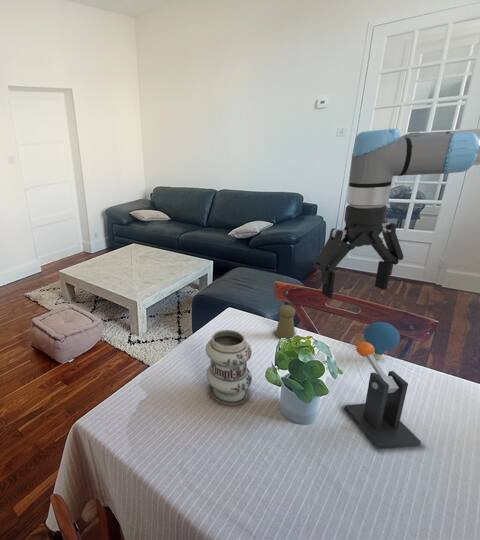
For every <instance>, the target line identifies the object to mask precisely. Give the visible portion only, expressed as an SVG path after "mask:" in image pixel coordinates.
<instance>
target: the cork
mask: <svg viewBox="0 0 480 540" xmlns="http://www.w3.org/2000/svg"><path fill="white" fill-rule="evenodd" d="M278 315H279V318H278V321H277V326H276V331H275V336H276V337H278V338H279V339H281V338H286V339H290V338H292V337H293V336H294V335H295V336H296V331H295V320H294V318H295V315H296V308H294V306H292V305H288V304H282V305H281V306H279V308H278ZM286 339H285V340H286ZM290 340H291V339H290Z"/></svg>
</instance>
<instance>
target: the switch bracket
mask: <svg viewBox="0 0 480 540" xmlns="http://www.w3.org/2000/svg"><path fill="white" fill-rule="evenodd" d="M387 376H392V378H393V379H394V381H395V382H396V384H397V385H398V387H399V388H398V389H397V390H396V391H395V392H394V393H388V389H389V385H388V384H387V383H386V382H385V381H384V380H383V379H382V378H381V377H379V376H378V375H377V373H376V372H370V374H369V380H368V386H367V390H366V391H367V392H366V397H365V403H354V404H353V403H352V404H345V405H344V408H343V409H344V411H345V412H346V413H347V414H348V415H349V417H350V418H351V419H352V420H353V421H354V423H355V424H356V425H357V426H358V428H360V430H361V431H362V432H363V433H364V435H366V437H367V438H368V440H369V441H371V443H372V444H373V445H374V447H375V448H376V449H377V450H380V449H397V448H409V447H419V446H421V443H422V441H421V440H420V439H419V438H418V437H417V436H416V435H415V434H414V433H413V432H412V431H411V430H410V429H409V428H408V427H407V426H406V425H405V424H404V423H403V422H402V421H401V418H402V413H403V410H404V404H405V400H406V396H407V391H408V387H409V383H408V382H407V381H406V380H405V379H403V378H402V377H401V376H400V375H399V374H397V373H396V372H395V371H394V370H389V371H388V372H387Z"/></svg>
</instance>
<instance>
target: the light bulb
mask: <svg viewBox="0 0 480 540" xmlns="http://www.w3.org/2000/svg"><path fill="white" fill-rule="evenodd" d="M363 339H364V342H368V343H370V344H372V345H373V347H374V349H375V352H374V354H373V356H374V358H375V359H376V360H381V359H383V358H382V357H383V355H384V354H385V352H389V351H392V350H394V349H396V348H397V347H398V346H399V344H400V342H401V335H400V332H399V331H398V329H397V328H396V327H395V326H394V325H392V324H391V323H388V322H384V321H376V322H372V323H370V324H368V325H367V326H366V327H365V329H364V332H363Z"/></svg>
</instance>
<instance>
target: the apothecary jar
mask: <svg viewBox="0 0 480 540" xmlns="http://www.w3.org/2000/svg"><path fill="white" fill-rule="evenodd" d="M252 352H253V351H252V347H251V345H250V344H249V343H248V342H247V341H246V337H245V336H244V335H243V334H242V333H241V332H240V331H236V330H234V329H233V330H232V329H221V330H218V331H215V332H213V333H212V334H211V339H210V340H208V341H207V343H206V345H205V354H206V356H207V357H208V358H209V360H210V362H209V363H210V365H208V368H207V369H206V373H205V377H206V381H207V382H208V384H209V385H210V386H211V387H210V394H211V396H212V397H213V398H214V399H215V400H216V401H217V402H218V403H221V404H225V405H229V406H232V405H238V404H241V403H243V402H245V401H246V399H247V398H248V390H247V389H248V388H249V387H250V386H251V384H252V380H253V375H252V373H251V371H250V369H249V368H248V364H247V362H248V361H249V360H250V359H251V357H252Z"/></svg>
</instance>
